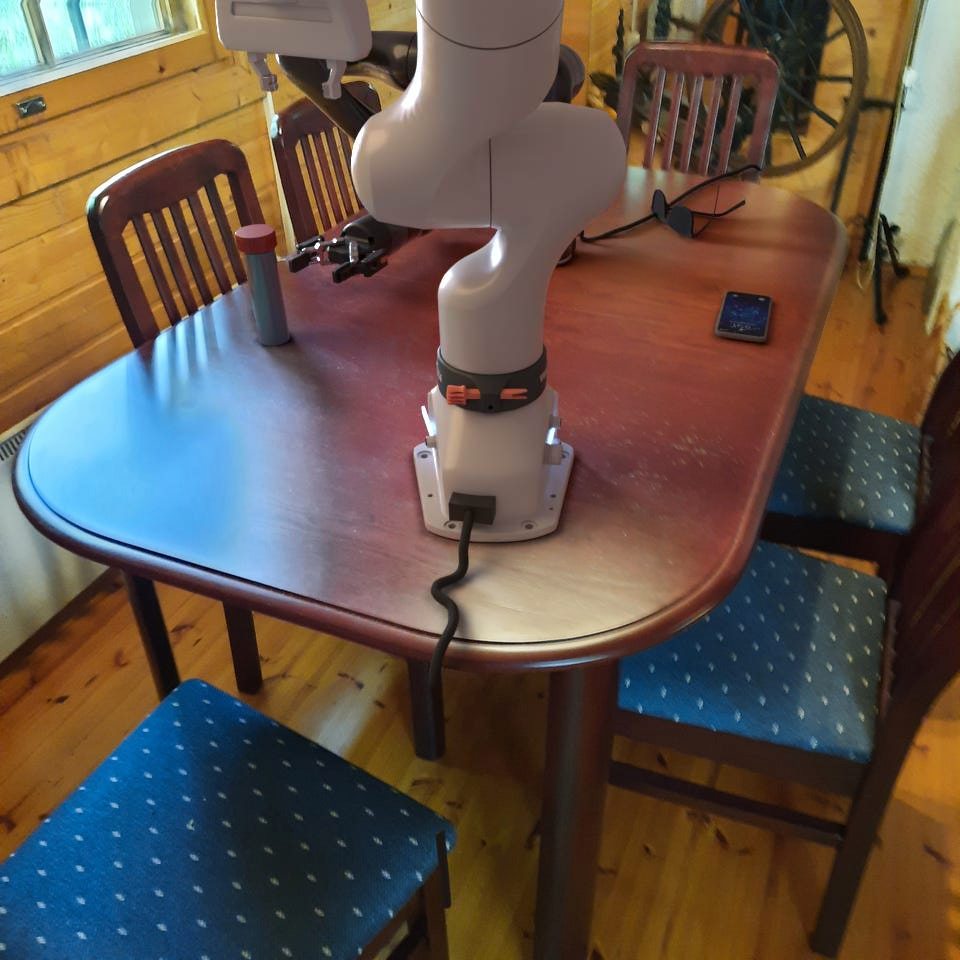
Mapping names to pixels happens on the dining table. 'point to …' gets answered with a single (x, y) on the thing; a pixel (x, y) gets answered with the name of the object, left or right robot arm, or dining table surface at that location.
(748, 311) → the smartphone
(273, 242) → the lid
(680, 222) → the sunglasses
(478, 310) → the left robot arm
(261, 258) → the bottle
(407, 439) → the dining table surface
